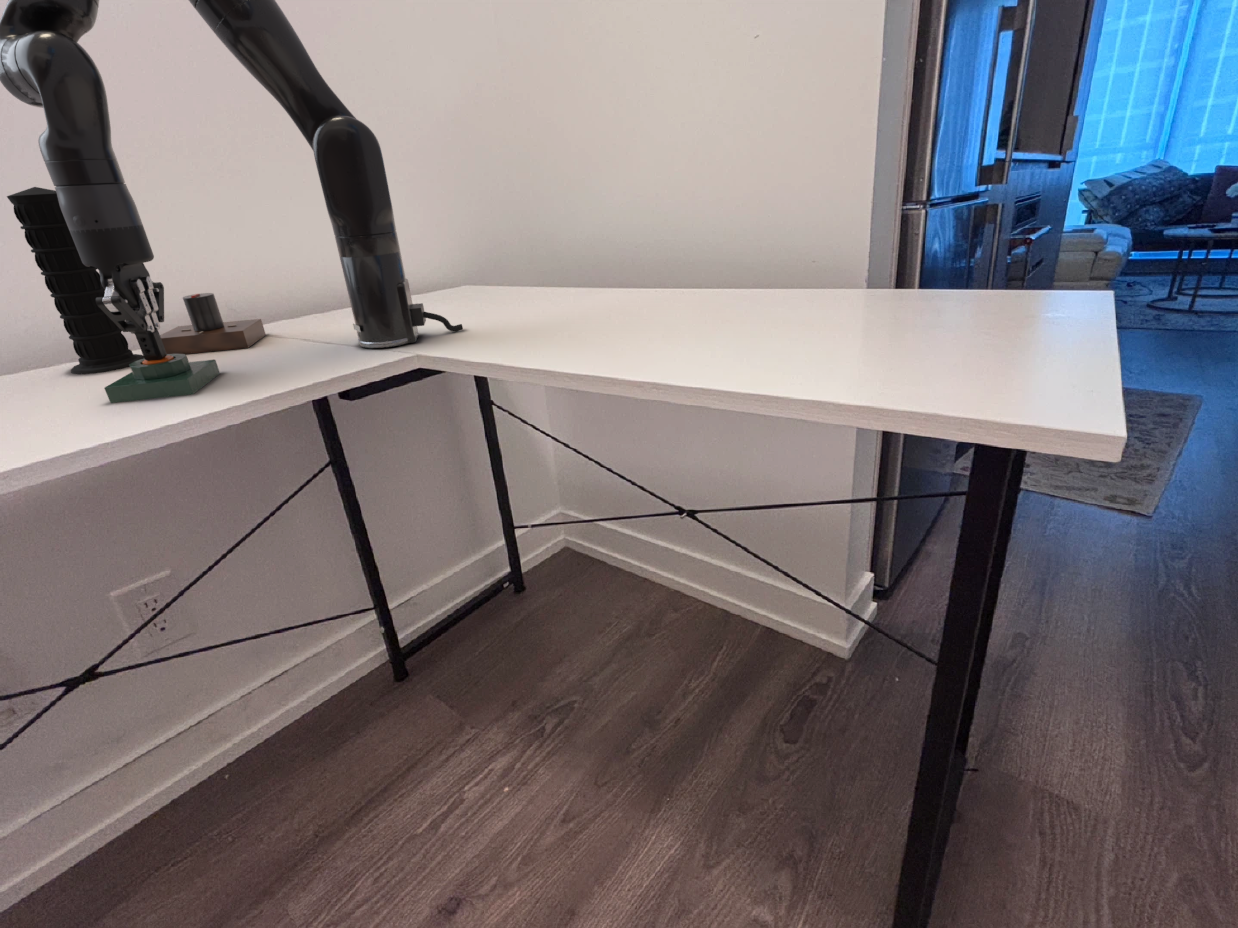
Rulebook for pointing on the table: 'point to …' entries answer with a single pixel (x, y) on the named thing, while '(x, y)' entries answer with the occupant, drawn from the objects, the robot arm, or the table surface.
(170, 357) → the button
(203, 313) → the dial
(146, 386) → the button box
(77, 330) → the handle grip
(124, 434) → the table surface
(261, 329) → the panel
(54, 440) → the table surface
